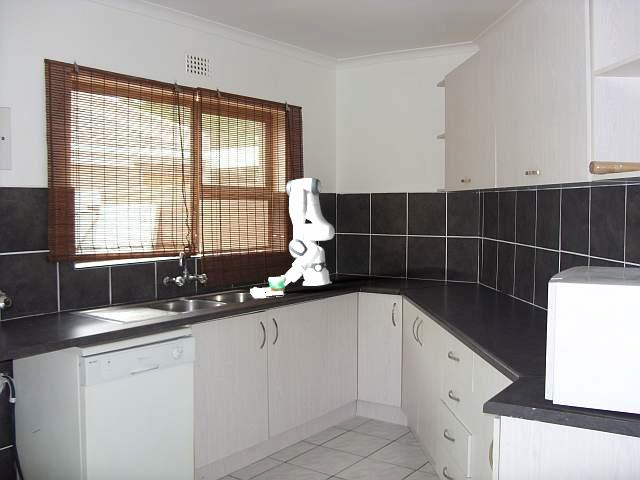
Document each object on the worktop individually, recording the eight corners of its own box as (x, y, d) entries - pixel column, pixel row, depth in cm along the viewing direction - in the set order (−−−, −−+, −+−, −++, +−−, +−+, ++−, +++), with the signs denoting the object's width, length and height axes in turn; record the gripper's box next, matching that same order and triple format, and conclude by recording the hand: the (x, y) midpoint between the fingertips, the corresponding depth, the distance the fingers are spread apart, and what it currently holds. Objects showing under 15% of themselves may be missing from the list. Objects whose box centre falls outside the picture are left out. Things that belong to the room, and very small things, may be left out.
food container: (277, 295, 369) (276, 277, 369) (269, 294, 373) (268, 277, 373) (290, 292, 379) (289, 275, 379) (282, 292, 383) (281, 275, 383)
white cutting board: (250, 293, 384) (250, 287, 384) (277, 291, 388) (277, 285, 387) (254, 298, 362) (254, 292, 362) (283, 296, 365) (282, 290, 365)
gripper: (292, 262, 388) (277, 279, 386) (298, 265, 368) (282, 283, 366) (300, 269, 389) (285, 286, 387) (306, 272, 369) (290, 290, 367)
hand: (283, 285), depth 376 cm, fingers closed
